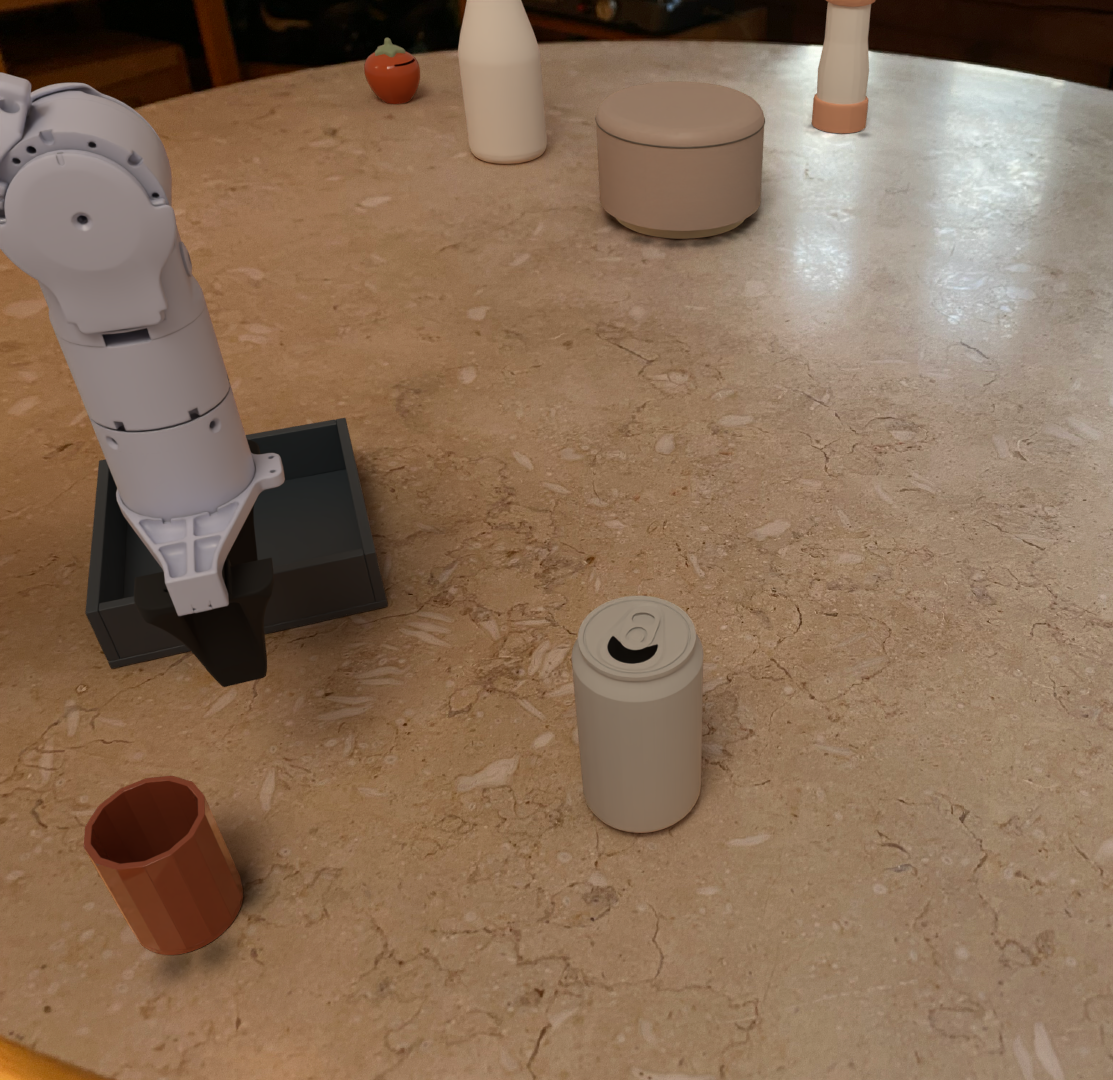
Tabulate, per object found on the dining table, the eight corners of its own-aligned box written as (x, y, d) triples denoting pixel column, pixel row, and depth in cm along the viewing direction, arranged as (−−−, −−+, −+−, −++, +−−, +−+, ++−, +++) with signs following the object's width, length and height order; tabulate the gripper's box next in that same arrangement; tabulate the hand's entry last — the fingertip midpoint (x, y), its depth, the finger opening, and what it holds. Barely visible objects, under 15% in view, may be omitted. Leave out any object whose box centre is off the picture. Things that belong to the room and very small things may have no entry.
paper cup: (132, 970, 51) (80, 883, 46) (135, 881, 54) (87, 792, 50) (246, 936, 52) (205, 849, 48) (240, 851, 56) (203, 763, 52)
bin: (110, 669, 66) (84, 613, 63) (120, 513, 77) (98, 460, 75) (388, 606, 70) (375, 552, 68) (357, 468, 82) (345, 417, 79)
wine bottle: (527, 170, 130) (501, -120, 112) (456, 160, 133) (418, -126, 114) (560, 145, 138) (540, -132, 119) (492, 135, 140) (462, -138, 121)
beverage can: (567, 827, 57) (549, 667, 50) (605, 736, 62) (594, 578, 55) (683, 853, 56) (684, 694, 49) (713, 759, 61) (718, 601, 54)
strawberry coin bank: (397, 111, 146) (387, 48, 141) (357, 101, 149) (346, 39, 144) (435, 97, 151) (427, 36, 146) (396, 88, 154) (386, 27, 149)
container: (789, 228, 119) (796, 119, 111) (636, 255, 112) (633, 141, 105) (718, 172, 131) (720, 70, 124) (577, 194, 125) (570, 88, 118)
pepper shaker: (801, 125, 145) (811, -34, 133) (830, 112, 150) (843, -43, 138) (847, 137, 142) (862, -25, 130) (876, 123, 146) (893, -35, 134)
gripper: (268, 470, 43) (337, 705, 51) (249, 308, 53) (309, 526, 62) (69, 506, 41) (175, 745, 49) (90, 330, 51) (175, 553, 60)
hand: (240, 626), depth 55 cm, fingers open, 7 cm apart
